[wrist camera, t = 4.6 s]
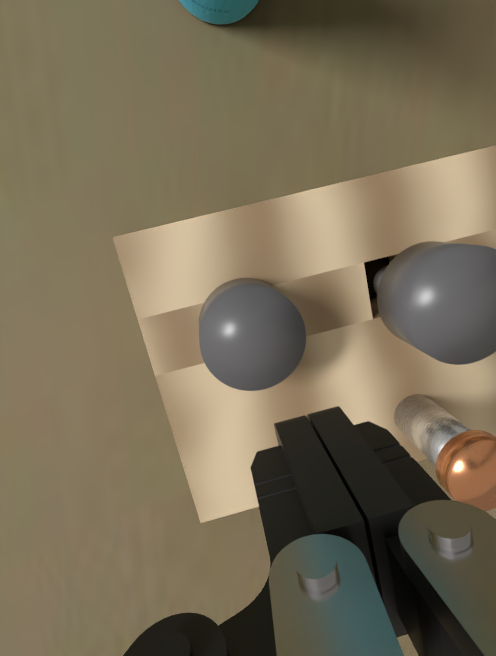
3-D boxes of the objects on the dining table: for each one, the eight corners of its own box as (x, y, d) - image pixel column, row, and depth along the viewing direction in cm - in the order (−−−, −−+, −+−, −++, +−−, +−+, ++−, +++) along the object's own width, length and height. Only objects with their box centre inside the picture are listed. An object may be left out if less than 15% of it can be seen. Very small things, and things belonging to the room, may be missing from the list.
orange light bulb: (438, 380, 24) (520, 434, 18) (444, 431, 25) (524, 499, 19) (383, 396, 24) (446, 455, 18) (391, 446, 25) (454, 520, 19)
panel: (563, 129, 25) (629, 113, 22) (571, 378, 30) (628, 402, 26) (125, 234, 24) (112, 237, 20) (199, 481, 28) (200, 522, 24)
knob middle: (425, 228, 23) (520, 231, 16) (435, 312, 24) (527, 348, 17) (340, 249, 22) (402, 262, 16) (355, 333, 23) (417, 377, 17)
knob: (267, 260, 25) (294, 275, 18) (284, 336, 26) (315, 375, 19) (188, 280, 24) (187, 302, 18) (209, 355, 26) (214, 402, 19)
